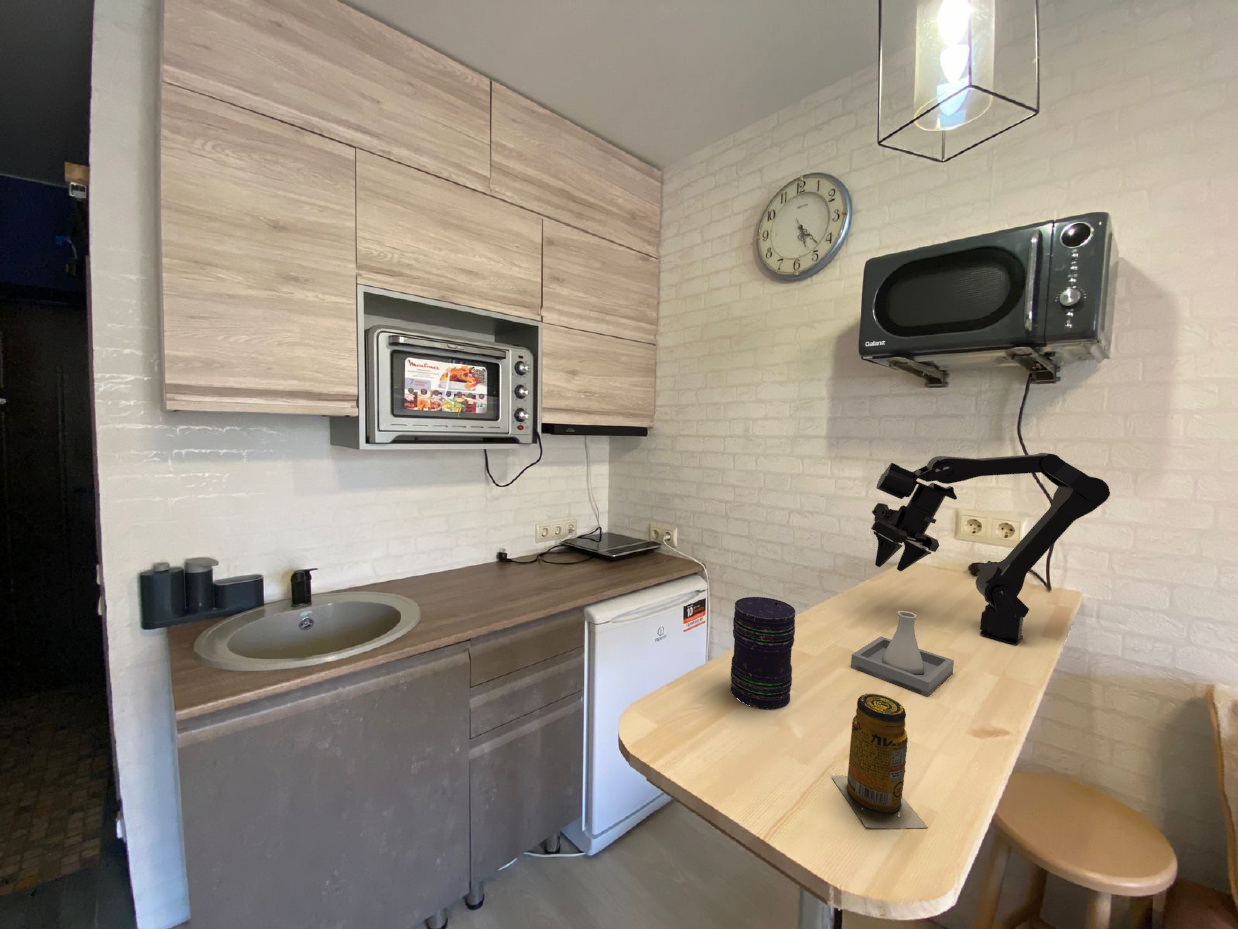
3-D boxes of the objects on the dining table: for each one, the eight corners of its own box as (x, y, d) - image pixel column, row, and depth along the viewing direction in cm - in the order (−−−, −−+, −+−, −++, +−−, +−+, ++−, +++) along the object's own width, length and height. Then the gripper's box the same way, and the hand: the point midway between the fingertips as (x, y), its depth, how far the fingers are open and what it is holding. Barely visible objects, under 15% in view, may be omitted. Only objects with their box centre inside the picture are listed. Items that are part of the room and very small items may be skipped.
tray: (952, 673, 95) (953, 660, 95) (927, 697, 86) (929, 682, 86) (879, 648, 105) (880, 636, 104) (850, 667, 96) (851, 654, 96)
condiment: (885, 776, 67) (892, 688, 66) (928, 829, 58) (937, 729, 57) (830, 777, 66) (837, 688, 65) (865, 830, 58) (873, 729, 57)
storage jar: (762, 717, 79) (767, 623, 78) (717, 688, 87) (721, 603, 86) (803, 699, 85) (809, 611, 83) (757, 673, 93) (761, 593, 92)
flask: (931, 678, 91) (936, 623, 90) (887, 672, 93) (892, 619, 92) (916, 659, 98) (921, 608, 97) (876, 655, 100) (880, 605, 99)
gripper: (910, 500, 127) (880, 555, 130) (868, 485, 117) (836, 545, 120) (954, 521, 118) (920, 579, 121) (912, 507, 108) (877, 571, 111)
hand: (888, 568), depth 118 cm, fingers open, 9 cm apart
